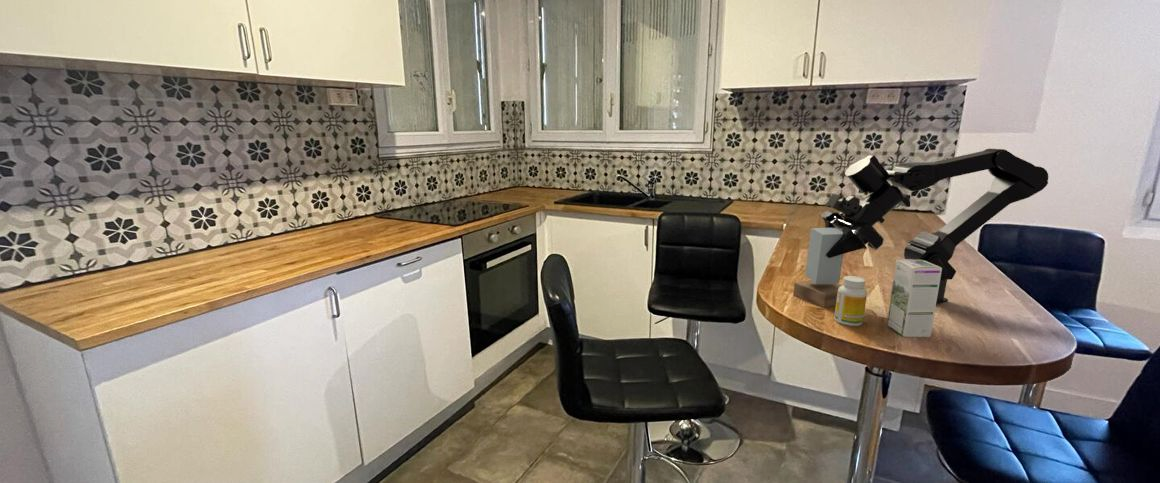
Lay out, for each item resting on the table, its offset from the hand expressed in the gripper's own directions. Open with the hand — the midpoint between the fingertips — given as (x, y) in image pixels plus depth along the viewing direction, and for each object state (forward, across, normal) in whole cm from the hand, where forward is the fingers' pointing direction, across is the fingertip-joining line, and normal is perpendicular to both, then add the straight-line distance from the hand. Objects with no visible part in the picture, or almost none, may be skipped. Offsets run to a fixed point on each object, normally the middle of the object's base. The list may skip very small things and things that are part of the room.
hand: (821, 253), depth 115 cm
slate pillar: (+4, 0, +5) cm, 7 cm away
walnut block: (+7, 0, +9) cm, 12 cm away
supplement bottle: (+8, +14, +8) cm, 18 cm away
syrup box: (+1, +19, +15) cm, 24 cm away
